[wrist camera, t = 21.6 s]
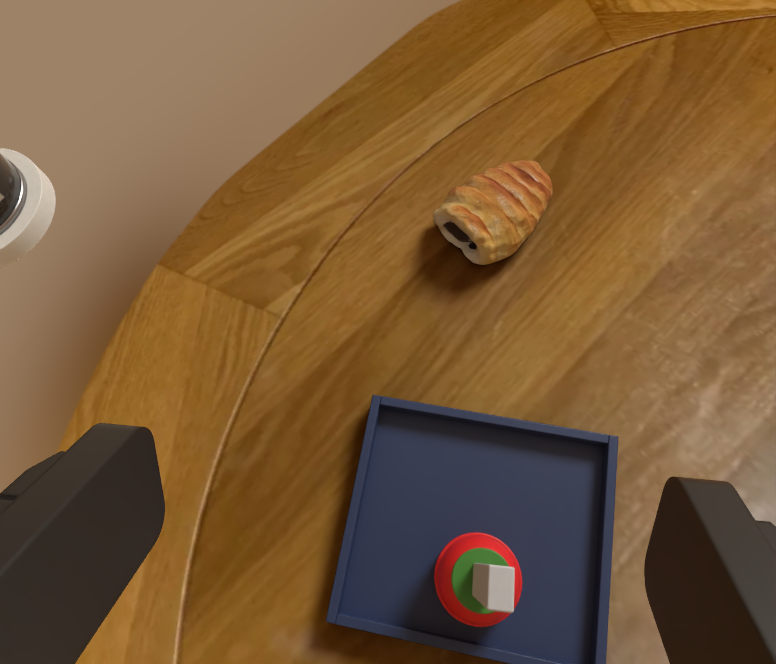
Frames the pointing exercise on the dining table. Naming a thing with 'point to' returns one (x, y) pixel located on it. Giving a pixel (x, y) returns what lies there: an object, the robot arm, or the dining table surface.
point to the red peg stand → (478, 579)
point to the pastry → (495, 210)
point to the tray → (479, 530)
